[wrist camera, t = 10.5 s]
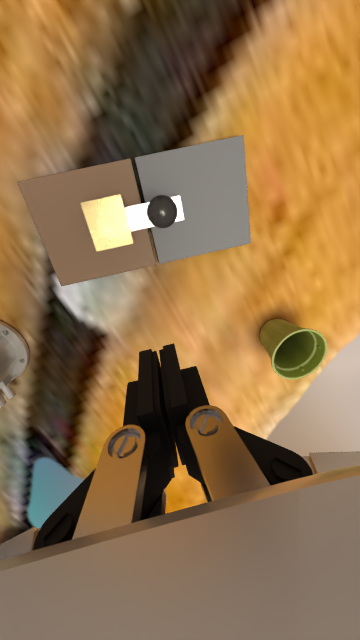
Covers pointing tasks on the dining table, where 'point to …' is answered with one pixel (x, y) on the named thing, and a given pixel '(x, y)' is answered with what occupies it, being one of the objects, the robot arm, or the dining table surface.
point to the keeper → (108, 222)
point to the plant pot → (293, 348)
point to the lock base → (156, 179)
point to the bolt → (155, 213)
